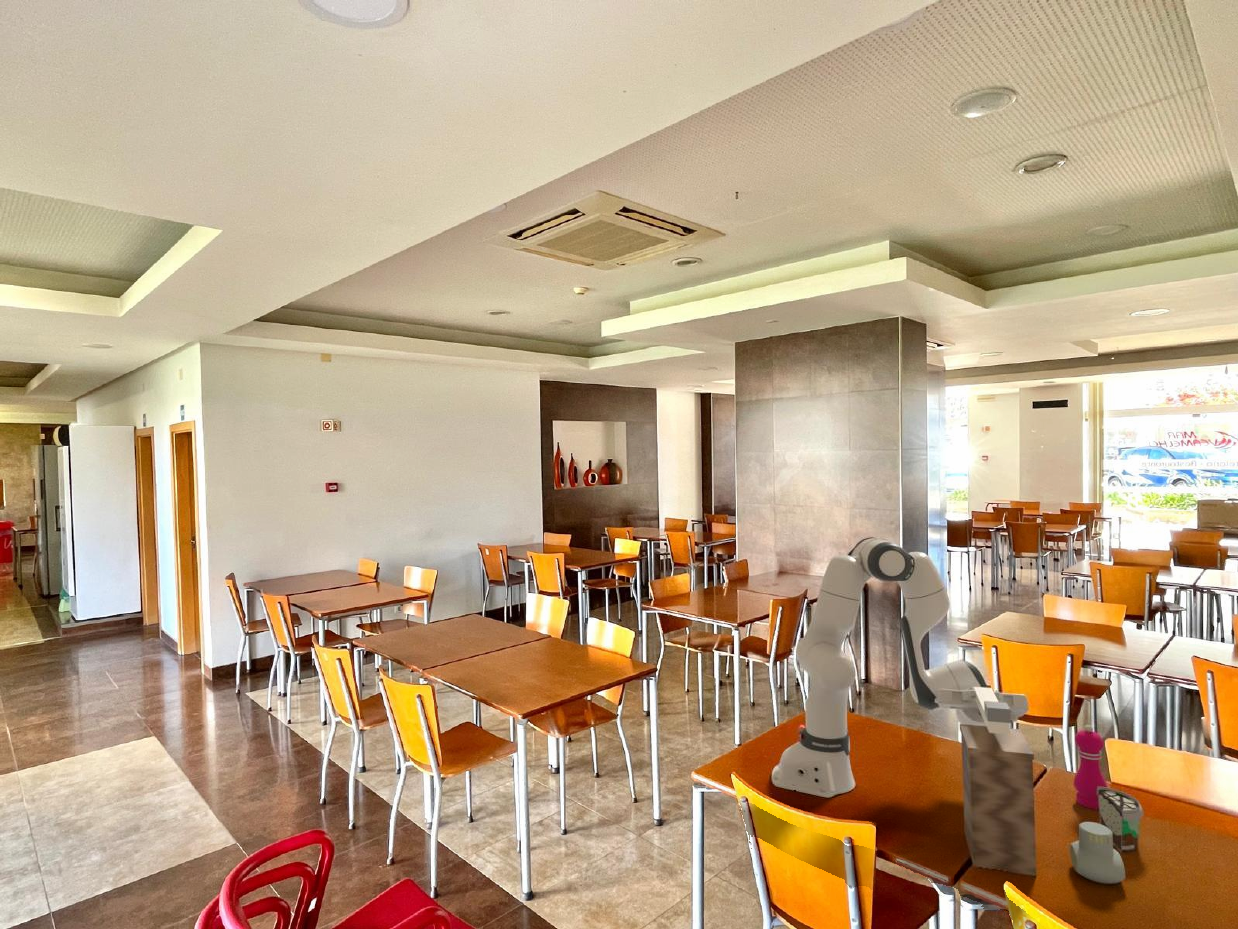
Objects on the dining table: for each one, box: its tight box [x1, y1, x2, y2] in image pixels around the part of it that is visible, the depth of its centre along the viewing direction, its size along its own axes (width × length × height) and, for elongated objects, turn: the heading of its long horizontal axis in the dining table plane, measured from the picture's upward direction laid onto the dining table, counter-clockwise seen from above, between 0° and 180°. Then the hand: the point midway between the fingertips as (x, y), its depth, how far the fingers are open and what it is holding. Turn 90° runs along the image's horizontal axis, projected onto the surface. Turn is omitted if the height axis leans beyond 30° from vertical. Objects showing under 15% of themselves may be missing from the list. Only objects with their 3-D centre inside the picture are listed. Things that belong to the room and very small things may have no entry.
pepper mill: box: [1073, 724, 1109, 810], centre depth 174 cm, size 7×7×20 cm
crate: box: [959, 723, 1038, 877], centre depth 153 cm, size 13×14×26 cm
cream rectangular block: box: [973, 687, 1011, 735], centre depth 158 cm, size 4×22×6 cm, turn 160°
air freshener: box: [1069, 821, 1126, 885], centre depth 144 cm, size 11×8×10 cm
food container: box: [1097, 787, 1144, 854], centre depth 156 cm, size 12×6×10 cm, turn 168°
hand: (984, 694), depth 165 cm, fingers closed on cream rectangular block, 4 cm apart
